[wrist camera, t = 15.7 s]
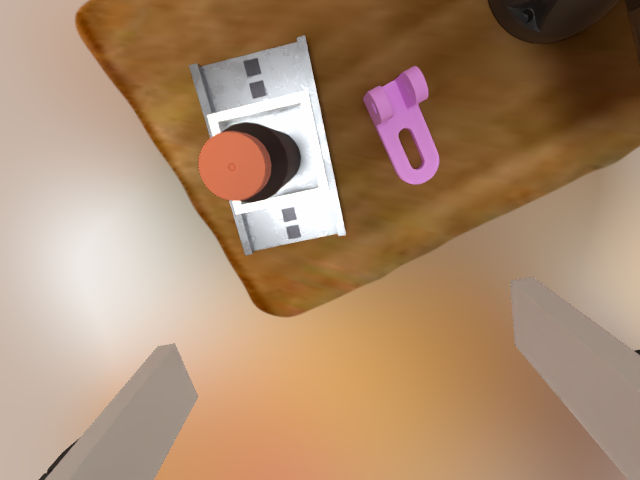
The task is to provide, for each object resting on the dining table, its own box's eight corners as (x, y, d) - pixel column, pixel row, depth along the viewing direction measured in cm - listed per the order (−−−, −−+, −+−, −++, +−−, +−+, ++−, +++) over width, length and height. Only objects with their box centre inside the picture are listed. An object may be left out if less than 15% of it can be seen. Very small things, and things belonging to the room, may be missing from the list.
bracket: (362, 98, 41) (369, 89, 34) (402, 76, 40) (418, 62, 34) (403, 190, 44) (417, 197, 37) (442, 171, 43) (463, 175, 37)
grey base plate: (306, 42, 39) (303, 29, 35) (344, 230, 46) (346, 238, 41) (197, 70, 40) (181, 60, 36) (249, 249, 47) (241, 260, 42)
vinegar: (283, 194, 43) (248, 231, 24) (239, 165, 42) (167, 179, 23) (311, 151, 42) (298, 154, 23) (266, 119, 41) (213, 94, 22)
